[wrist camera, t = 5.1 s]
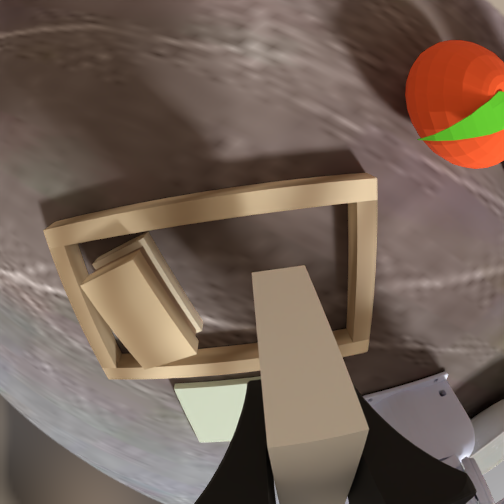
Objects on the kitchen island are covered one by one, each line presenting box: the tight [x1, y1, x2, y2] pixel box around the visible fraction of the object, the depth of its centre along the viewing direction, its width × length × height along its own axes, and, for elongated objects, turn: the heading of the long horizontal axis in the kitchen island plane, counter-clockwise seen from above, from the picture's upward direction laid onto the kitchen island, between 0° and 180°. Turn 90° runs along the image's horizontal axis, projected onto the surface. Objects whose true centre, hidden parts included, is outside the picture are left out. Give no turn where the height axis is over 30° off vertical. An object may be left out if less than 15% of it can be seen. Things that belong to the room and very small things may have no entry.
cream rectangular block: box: [252, 265, 369, 504], centre depth 11 cm, size 2×7×8 cm, turn 7°
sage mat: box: [174, 376, 261, 443], centre depth 24 cm, size 10×8×1 cm
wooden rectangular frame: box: [43, 173, 377, 379], centre depth 19 cm, size 19×12×2 cm, turn 97°
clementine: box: [405, 40, 504, 169], centre depth 12 cm, size 8×7×7 cm
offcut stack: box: [80, 232, 203, 370], centre depth 18 cm, size 4×7×4 cm, turn 24°
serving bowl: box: [461, 399, 504, 475], centre depth 29 cm, size 21×21×7 cm
